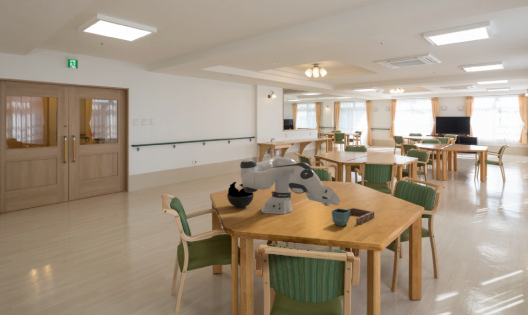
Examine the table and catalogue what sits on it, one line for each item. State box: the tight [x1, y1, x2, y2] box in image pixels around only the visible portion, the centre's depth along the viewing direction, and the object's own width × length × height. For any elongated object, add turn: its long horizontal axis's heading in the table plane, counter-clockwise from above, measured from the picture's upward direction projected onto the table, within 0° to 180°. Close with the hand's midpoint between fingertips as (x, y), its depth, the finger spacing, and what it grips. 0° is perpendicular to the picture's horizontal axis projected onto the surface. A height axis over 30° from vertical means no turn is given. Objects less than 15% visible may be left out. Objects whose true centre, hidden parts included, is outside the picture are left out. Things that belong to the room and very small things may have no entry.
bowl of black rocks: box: [226, 181, 255, 209], centre depth 245 cm, size 20×20×19 cm
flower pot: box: [331, 208, 351, 227], centre depth 203 cm, size 9×9×9 cm
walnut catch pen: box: [346, 207, 375, 226], centre depth 216 cm, size 22×16×4 cm
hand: (327, 204), depth 191 cm, fingers closed
